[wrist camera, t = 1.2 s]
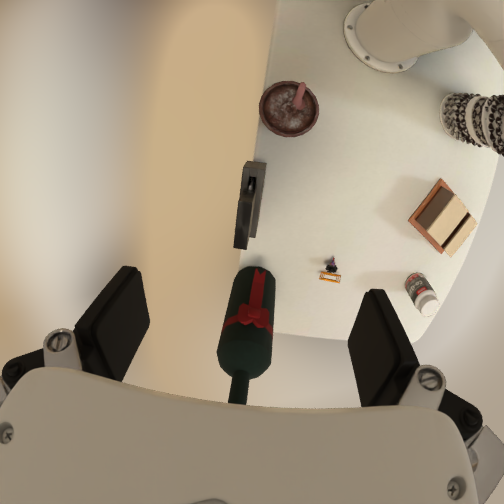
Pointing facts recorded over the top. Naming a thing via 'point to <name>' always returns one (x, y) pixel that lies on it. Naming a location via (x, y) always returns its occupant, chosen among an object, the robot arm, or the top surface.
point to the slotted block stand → (438, 215)
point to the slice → (459, 234)
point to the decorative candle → (474, 119)
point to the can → (289, 108)
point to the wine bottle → (247, 330)
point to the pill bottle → (422, 294)
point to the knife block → (255, 171)
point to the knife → (244, 216)
